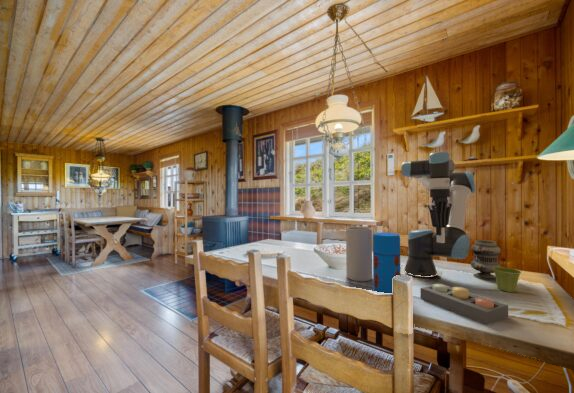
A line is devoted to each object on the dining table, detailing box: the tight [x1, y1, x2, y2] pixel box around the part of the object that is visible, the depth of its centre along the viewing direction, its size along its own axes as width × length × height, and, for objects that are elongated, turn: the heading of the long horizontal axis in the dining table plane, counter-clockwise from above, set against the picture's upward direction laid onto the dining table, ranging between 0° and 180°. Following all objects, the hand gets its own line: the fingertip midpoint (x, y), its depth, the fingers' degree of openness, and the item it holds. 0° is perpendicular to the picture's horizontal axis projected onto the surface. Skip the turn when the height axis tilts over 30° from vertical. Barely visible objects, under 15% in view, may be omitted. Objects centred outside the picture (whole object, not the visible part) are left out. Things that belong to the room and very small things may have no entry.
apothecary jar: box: [470, 239, 502, 281], centre depth 129 cm, size 12×12×18 cm
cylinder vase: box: [345, 226, 373, 282], centre depth 130 cm, size 12×12×25 cm
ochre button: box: [452, 286, 470, 300], centre depth 95 cm, size 5×5×4 cm
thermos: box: [372, 232, 401, 293], centre depth 110 cm, size 11×11×25 cm
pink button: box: [475, 297, 494, 309], centre depth 88 cm, size 5×5×4 cm
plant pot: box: [493, 266, 522, 293], centre depth 112 cm, size 9×9×9 cm
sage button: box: [432, 283, 448, 293], centre depth 103 cm, size 5×5×4 cm
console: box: [420, 283, 509, 326], centre depth 95 cm, size 24×12×4 cm, turn 24°
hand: (440, 242), depth 112 cm, fingers closed
